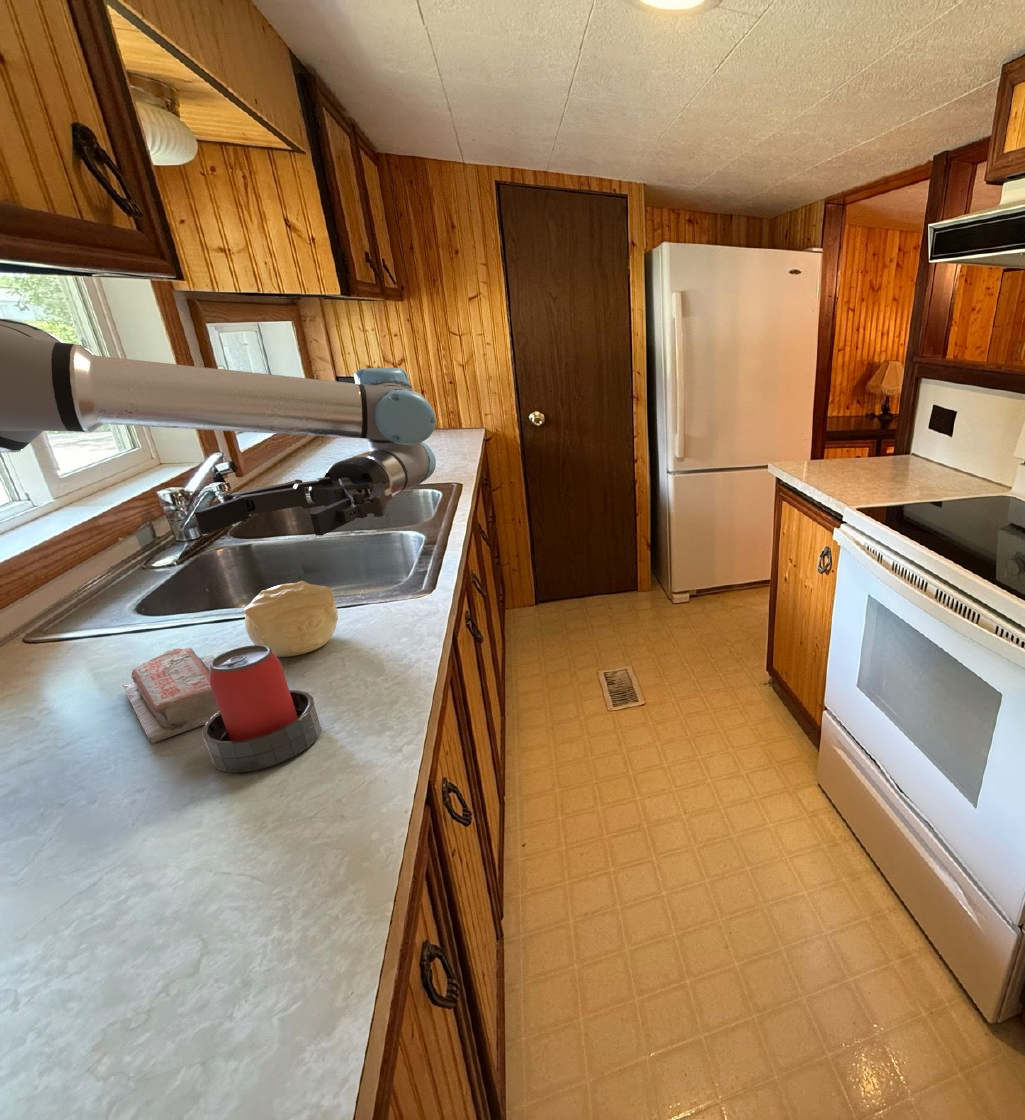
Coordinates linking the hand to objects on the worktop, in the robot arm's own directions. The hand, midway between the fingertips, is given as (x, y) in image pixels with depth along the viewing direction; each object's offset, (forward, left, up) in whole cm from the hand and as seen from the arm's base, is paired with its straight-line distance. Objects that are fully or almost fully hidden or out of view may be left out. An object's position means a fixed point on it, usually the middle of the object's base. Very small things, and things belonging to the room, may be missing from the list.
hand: (258, 524), depth 71 cm
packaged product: (-18, +1, -26) cm, 32 cm away
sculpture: (-13, +16, -26) cm, 33 cm away
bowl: (0, -8, -26) cm, 27 cm away
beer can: (0, -8, -26) cm, 27 cm away
